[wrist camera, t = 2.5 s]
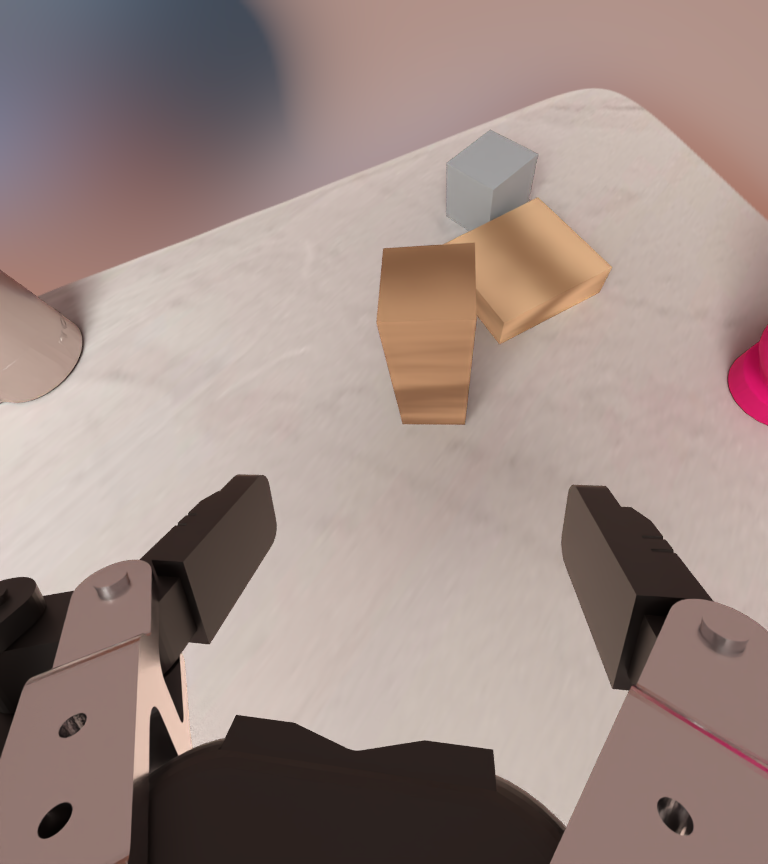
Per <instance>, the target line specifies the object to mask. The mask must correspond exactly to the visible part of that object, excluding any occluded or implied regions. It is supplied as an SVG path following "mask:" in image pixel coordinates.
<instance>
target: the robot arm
mask: <svg viewBox="0 0 768 864" xmlns="http://www.w3.org/2000/svg"><path fill="white" fill-rule="evenodd" d="M81 349H82V335H81V332H80V330H79V328H78V327H77V326H76V325H75V324H74V323H73V322H71V321H70V320H69V319H67V318H66V317H64V316H63V315H62V314H61V313H60V312H59V311H57V310H56V309H54V308H52V307H51V306H49V305H48V304H47V303H45V302H44V301H42V300H41V299H40V298H38V297H37V296H36V295H34V294H33V293H32V292H30V291H29V290H27V289H26V288H25V287H23V286H22V285H21V284H19V283H18V282H16V281H15V280H14V279H12V278H11V277H9V276H8V275H7V274H5V273H4V272H3V271H1V270H0V403H1V402H13V403H20V402H27V401H30V400H34V399H36V398H39V397H41V396H43V395H45V394H46V393H48V392H49V391H51V390H52V389H54V388H55V387H56V386H58V385H59V384H60V383H61V382H62V381H63V380H64V379H65V378H66V377H67V376H68V375H69V373H70V372H71V371H72V369H73V368H74V366H75V364H76V363H77V361H78V358H79V356H80V353H81ZM276 529H277V524H276V517H275V512H274V507H273V502H272V497H271V491H270V486H269V482H268V479H267V478H266V476H264V475H240V474H239V475H236V476H235V477H233V478H232V479H231V480H230V481H229V482H228V483H227V484H226V485H225V486H224V487H223V488H222V489H221V490H220V491H218V492H216V493H214V494H212V495H211V496H209V497H207V498H205V499H204V500H202V501H200V502H199V503H198V504H197V505H196V506H195V507H194V508H193V509H192V510H191V511H190V512H189V513H188V516H185V517H184V518H183V519H182V520H180V521H179V522H178V526H174V527H173V528H172V529H171V530H170V531H169V532H168V533H167V534H166V535H165V536H164V537H163V538H162V539H161V540H160V541H159V542H158V543H157V544H155V545H154V546H153V547H152V548H151V549H150V550H149V551H148V552H147V553H146V554H145V555H144V556H143V557H142V558H141V559H140V560H127V561H122V562H118V563H115V564H112V565H109V566H107V567H105V568H102V569H101V570H99V571H97V572H95V573H94V574H92V575H90V576H89V577H88V578H86V579H85V580H84V581H83V582H82V583H81V584H79V586H78V587H77V588H76V589H75V591H70V592H64V593H58V594H52V595H47V596H42V594H41V592H40V590H39V588H38V586H37V584H36V582H35V581H34V580H33V579H31V578H28V577H17V578H11V579H6V580H3V581H0V864H768V631H767V630H766V629H765V628H763V627H762V626H761V625H760V624H758V623H757V622H756V621H754V620H753V619H751V618H750V617H748V616H746V615H744V614H743V613H741V612H739V611H737V610H735V609H733V608H730V607H728V606H725V605H723V604H720V603H716V602H714V601H713V600H712V599H711V598H710V596H709V595H708V594H707V592H706V591H705V590H704V589H703V587H702V586H701V585H700V583H699V582H698V581H697V580H696V578H695V577H694V576H693V574H692V573H691V572H690V571H689V569H688V568H687V567H686V565H685V564H684V563H683V562H682V560H681V559H680V558H679V556H678V555H677V554H676V553H674V552H673V549H672V547H671V546H670V545H669V544H668V542H667V541H666V540H663V536H662V535H661V533H660V532H659V531H658V529H657V528H656V527H655V526H654V524H653V523H652V522H651V521H650V520H649V519H647V518H646V517H645V516H643V515H642V514H640V513H639V512H637V511H636V510H634V509H633V508H631V507H621V506H620V505H619V503H618V502H617V500H616V499H615V498H614V496H613V495H612V493H611V492H610V490H609V489H608V488H607V487H606V486H593V485H572V486H571V487H570V489H569V492H568V498H567V504H566V511H565V518H564V524H563V531H562V540H561V545H562V555H563V560H564V563H565V566H566V568H567V571H568V574H569V576H570V579H571V581H572V584H573V587H574V589H575V592H576V594H577V597H578V600H579V602H580V605H581V608H582V610H583V613H584V615H585V618H586V621H587V623H588V626H589V629H590V631H591V634H592V636H593V639H594V642H595V644H596V647H597V650H598V652H599V655H600V657H601V660H602V663H603V665H604V668H605V671H606V673H607V676H608V678H609V681H610V684H611V686H612V689H620V690H629V692H628V694H627V696H626V698H625V700H624V703H623V705H622V707H621V709H620V711H619V714H618V716H617V718H616V720H615V722H614V725H613V727H612V729H611V731H610V733H609V735H608V738H607V740H606V742H605V744H604V746H603V749H602V751H601V753H600V755H599V757H598V759H597V762H596V764H595V766H594V768H593V770H592V773H591V775H590V777H589V779H588V781H587V783H586V786H585V788H584V790H583V792H582V794H581V797H580V799H579V801H578V803H577V805H576V807H575V810H574V812H573V814H572V816H571V818H570V821H569V823H568V825H567V827H566V826H565V825H564V824H563V823H562V822H561V821H560V820H559V819H558V818H557V817H556V816H555V815H554V814H553V813H552V812H550V811H549V810H548V809H547V808H546V807H545V806H544V805H543V804H542V803H540V802H539V801H538V800H536V799H535V798H534V797H532V796H531V795H530V794H529V793H527V792H526V791H524V790H523V789H521V788H519V787H518V786H516V785H514V784H513V783H511V782H510V781H508V780H505V779H503V778H501V777H499V776H497V775H495V766H494V754H493V750H492V749H484V748H477V747H469V746H462V745H455V744H447V743H440V742H432V741H425V740H424V741H418V742H412V743H405V744H399V745H393V746H386V747H380V748H374V749H367V750H360V751H355V750H350V749H347V748H345V747H343V746H341V745H339V744H337V743H335V742H333V741H331V740H329V739H327V738H325V737H322V736H320V735H318V734H316V733H314V732H312V731H310V730H308V729H306V728H304V727H302V726H300V725H298V724H296V723H292V722H284V721H277V720H270V719H262V718H255V717H247V716H240V715H236V716H235V718H234V720H233V723H232V725H231V727H230V729H229V731H228V733H227V735H226V737H225V738H223V739H218V740H215V741H212V742H208V743H205V744H202V745H200V746H197V747H195V748H193V746H192V741H191V734H190V722H189V709H188V696H187V683H186V670H185V660H184V657H183V654H182V651H183V650H184V648H185V647H186V646H187V644H188V643H189V642H191V643H201V644H210V643H211V641H212V640H213V638H214V637H215V635H216V633H217V632H218V630H219V629H220V627H221V625H222V624H223V622H224V621H225V619H226V617H227V616H228V614H229V613H230V611H231V609H232V608H233V606H234V605H235V603H236V601H237V600H238V598H239V597H240V595H241V594H242V592H243V590H244V589H245V587H246V586H247V584H248V582H249V581H250V579H251V578H252V576H253V574H254V573H255V571H256V570H257V568H258V566H259V565H260V563H261V562H262V560H263V559H264V557H265V555H266V554H267V552H268V551H269V549H270V547H271V546H272V544H273V542H274V539H275V536H276Z"/></svg>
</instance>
